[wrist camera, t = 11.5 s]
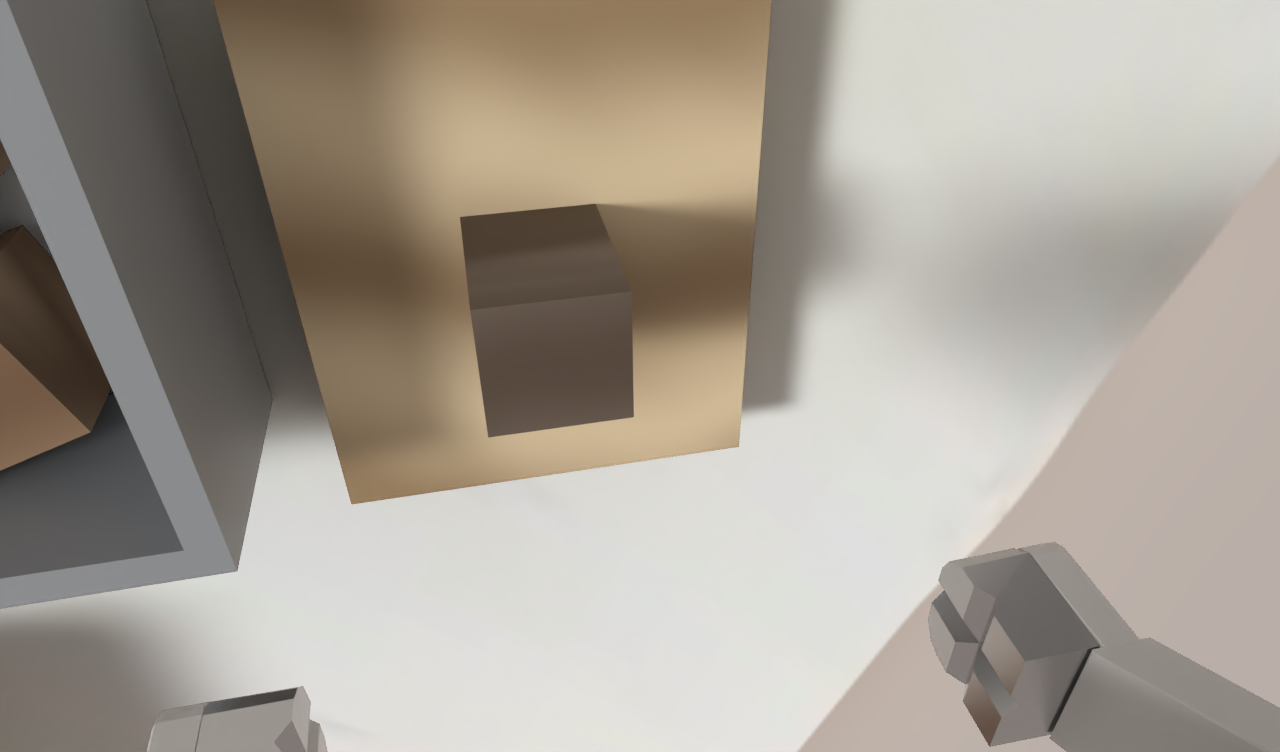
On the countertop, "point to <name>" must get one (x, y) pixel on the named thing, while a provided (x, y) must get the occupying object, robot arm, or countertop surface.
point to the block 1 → (3, 159)
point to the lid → (511, 224)
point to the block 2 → (42, 355)
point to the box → (126, 316)
